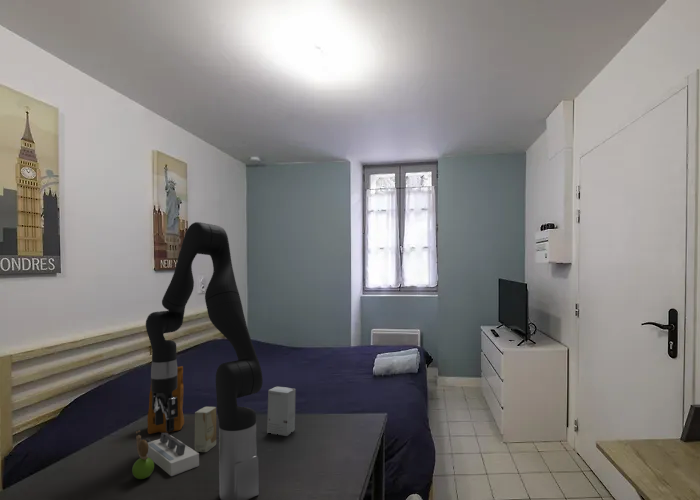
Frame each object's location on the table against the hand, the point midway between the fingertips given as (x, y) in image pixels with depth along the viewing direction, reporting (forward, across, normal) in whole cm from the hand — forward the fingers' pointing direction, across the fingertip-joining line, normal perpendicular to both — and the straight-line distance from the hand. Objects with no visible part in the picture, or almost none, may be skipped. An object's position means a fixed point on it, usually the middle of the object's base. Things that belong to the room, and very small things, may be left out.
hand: (164, 427), depth 126 cm
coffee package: (+9, +22, -9) cm, 25 cm away
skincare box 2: (+9, -13, -35) cm, 38 cm away
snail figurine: (+9, -9, +10) cm, 16 cm away
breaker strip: (+8, 0, 0) cm, 8 cm away
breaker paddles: (+5, -5, 0) cm, 7 cm away
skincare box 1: (+9, -5, -11) cm, 15 cm away
